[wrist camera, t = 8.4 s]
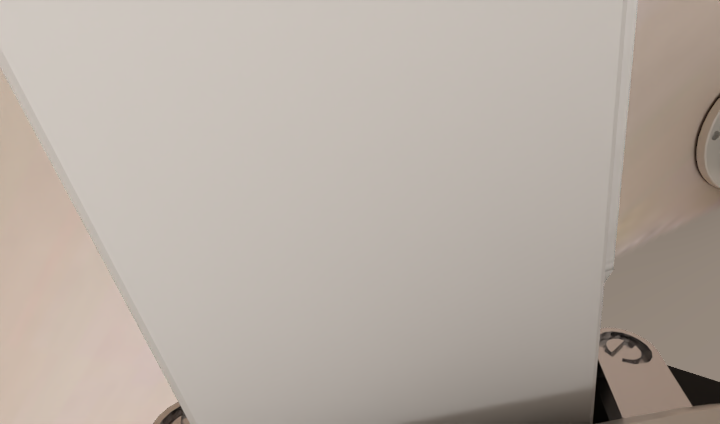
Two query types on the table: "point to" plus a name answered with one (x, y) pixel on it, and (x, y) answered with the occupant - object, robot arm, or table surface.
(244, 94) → the rounded white slab
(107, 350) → the table surface
